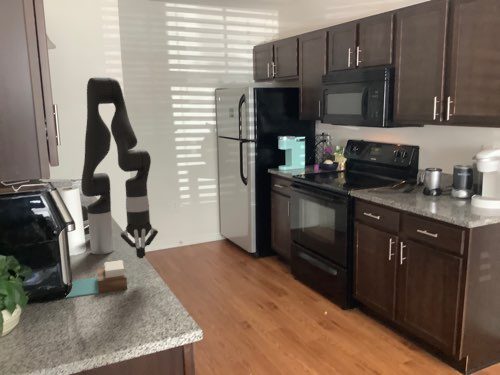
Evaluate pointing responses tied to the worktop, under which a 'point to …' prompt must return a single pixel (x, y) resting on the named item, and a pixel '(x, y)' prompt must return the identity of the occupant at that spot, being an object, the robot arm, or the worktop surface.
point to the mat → (84, 287)
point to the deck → (110, 281)
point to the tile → (114, 269)
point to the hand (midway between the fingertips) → (140, 257)
